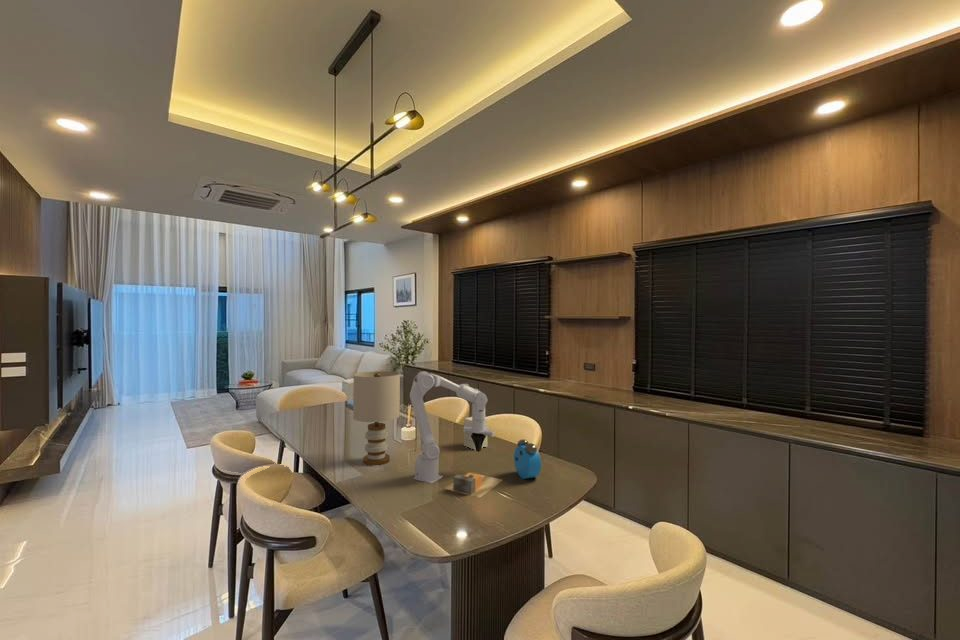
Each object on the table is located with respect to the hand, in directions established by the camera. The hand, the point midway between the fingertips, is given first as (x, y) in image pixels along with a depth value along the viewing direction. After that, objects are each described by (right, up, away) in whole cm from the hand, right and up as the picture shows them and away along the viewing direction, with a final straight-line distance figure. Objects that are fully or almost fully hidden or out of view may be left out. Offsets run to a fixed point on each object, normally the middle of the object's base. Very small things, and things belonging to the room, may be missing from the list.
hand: (478, 450), depth 169 cm
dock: (-2, -9, -13) cm, 16 cm away
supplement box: (-2, -10, +35) cm, 37 cm away
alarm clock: (+20, -10, -5) cm, 23 cm away
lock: (-3, -9, -16) cm, 18 cm away
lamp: (-48, -10, +13) cm, 50 cm away
